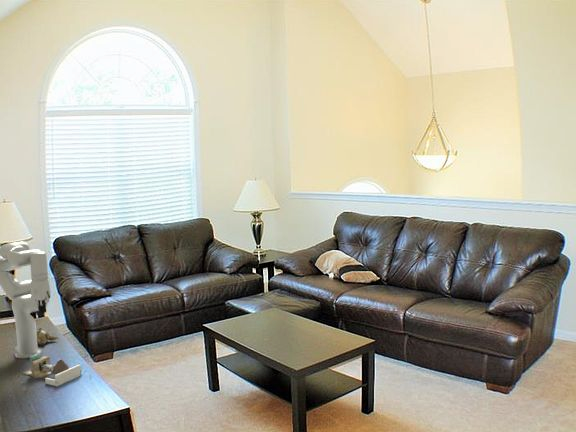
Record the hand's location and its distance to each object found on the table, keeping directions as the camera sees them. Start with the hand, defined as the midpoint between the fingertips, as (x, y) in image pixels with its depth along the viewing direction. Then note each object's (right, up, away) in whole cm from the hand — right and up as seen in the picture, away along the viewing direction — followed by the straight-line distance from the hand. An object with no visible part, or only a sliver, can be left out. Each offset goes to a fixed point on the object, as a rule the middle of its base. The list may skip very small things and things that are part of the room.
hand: (42, 312), depth 285 cm
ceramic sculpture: (-15, -23, +35) cm, 45 cm away
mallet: (+8, -26, -14) cm, 30 cm away
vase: (+17, -28, -19) cm, 38 cm away
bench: (+3, -27, -12) cm, 30 cm away
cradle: (+18, -27, -20) cm, 39 cm away
